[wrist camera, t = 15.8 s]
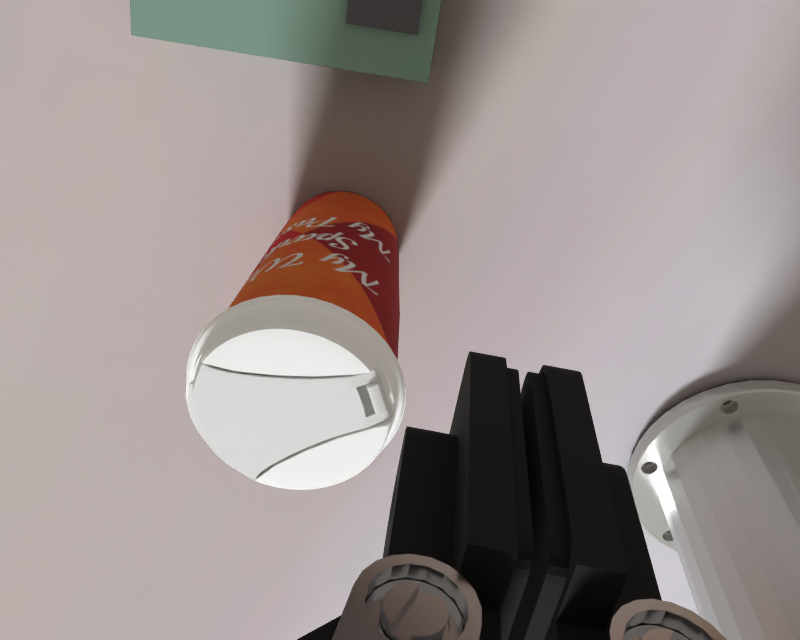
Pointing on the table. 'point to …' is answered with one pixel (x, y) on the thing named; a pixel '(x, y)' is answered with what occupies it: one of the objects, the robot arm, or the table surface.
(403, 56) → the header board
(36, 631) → the table surface
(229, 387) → the paper cup
